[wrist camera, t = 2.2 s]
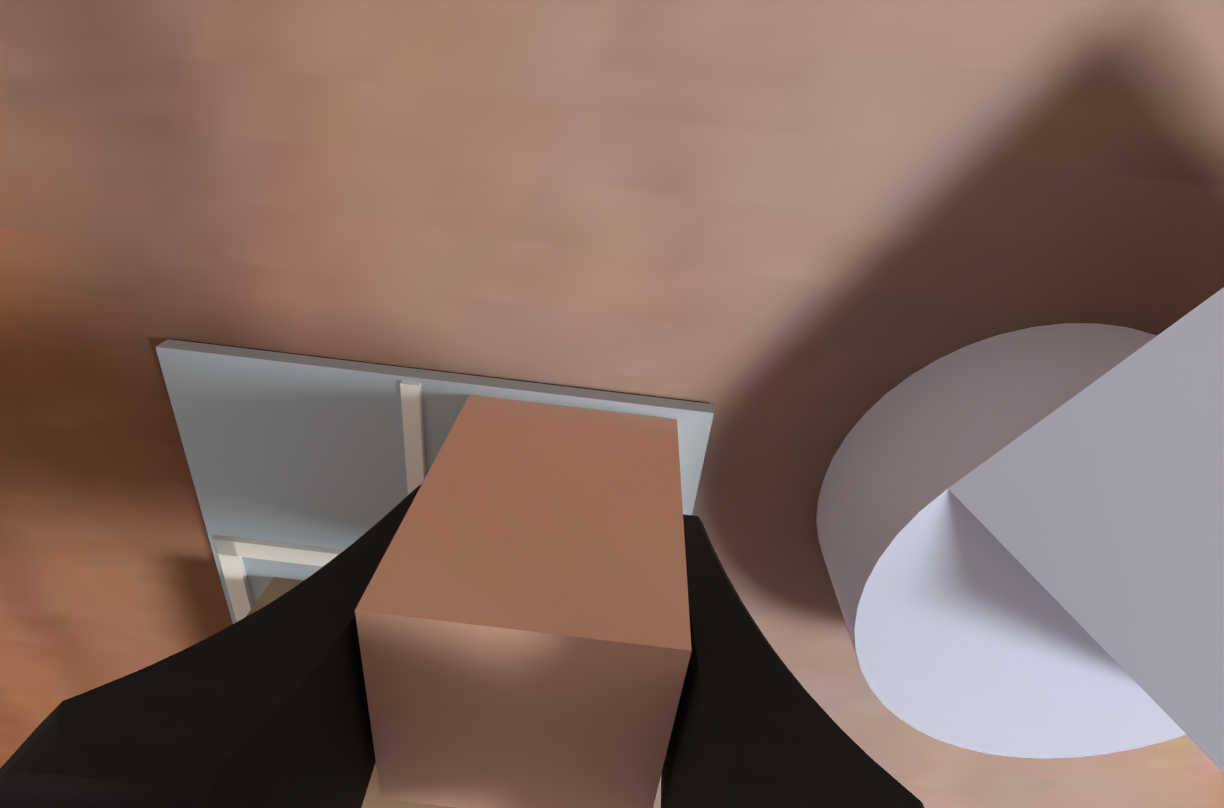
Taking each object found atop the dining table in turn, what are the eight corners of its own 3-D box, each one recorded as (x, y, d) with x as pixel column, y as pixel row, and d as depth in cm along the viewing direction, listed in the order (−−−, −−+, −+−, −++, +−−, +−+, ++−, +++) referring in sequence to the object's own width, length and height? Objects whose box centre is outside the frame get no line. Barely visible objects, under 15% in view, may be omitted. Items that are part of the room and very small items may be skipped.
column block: (649, 572, 16) (647, 830, 11) (471, 551, 16) (381, 799, 11) (676, 419, 14) (691, 650, 8) (469, 394, 14) (354, 609, 8)
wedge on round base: (1311, 31, 10) (737, 517, 15) (2236, 8, 4) (789, 804, 10) (1538, 360, 12) (972, 681, 18) (2330, 639, 7) (1127, 990, 12)
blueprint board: (631, 789, 21) (630, 806, 21) (276, 747, 21) (268, 763, 21) (712, 404, 14) (714, 416, 13) (167, 339, 14) (150, 349, 13)
